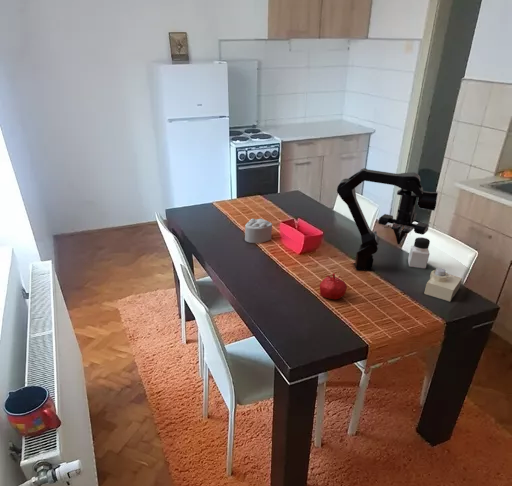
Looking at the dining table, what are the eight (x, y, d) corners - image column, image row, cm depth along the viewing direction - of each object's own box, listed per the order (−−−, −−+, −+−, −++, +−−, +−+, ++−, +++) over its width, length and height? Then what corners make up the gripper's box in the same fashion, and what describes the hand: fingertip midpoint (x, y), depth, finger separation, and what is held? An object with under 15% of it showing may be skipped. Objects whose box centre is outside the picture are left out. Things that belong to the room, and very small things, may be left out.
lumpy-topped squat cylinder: (274, 238, 224) (275, 221, 219) (254, 245, 216) (255, 227, 212) (259, 232, 230) (259, 215, 226) (239, 238, 222) (239, 221, 218)
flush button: (433, 274, 182) (435, 270, 181) (436, 271, 185) (437, 267, 184) (443, 277, 181) (444, 272, 179) (445, 274, 183) (446, 269, 182)
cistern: (422, 293, 183) (426, 277, 179) (432, 281, 192) (436, 265, 189) (450, 301, 178) (454, 285, 174) (458, 289, 187) (463, 273, 184)
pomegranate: (338, 305, 172) (342, 282, 167) (314, 297, 177) (317, 275, 172) (349, 294, 180) (352, 272, 175) (325, 287, 184) (328, 265, 179)
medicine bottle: (425, 268, 202) (432, 243, 196) (408, 266, 203) (415, 241, 197) (424, 262, 208) (430, 236, 202) (407, 260, 209) (413, 234, 203)
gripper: (436, 206, 184) (427, 243, 192) (391, 196, 193) (384, 232, 201) (428, 214, 176) (419, 252, 184) (381, 203, 185) (374, 240, 193)
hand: (398, 244), depth 191 cm, fingers closed
